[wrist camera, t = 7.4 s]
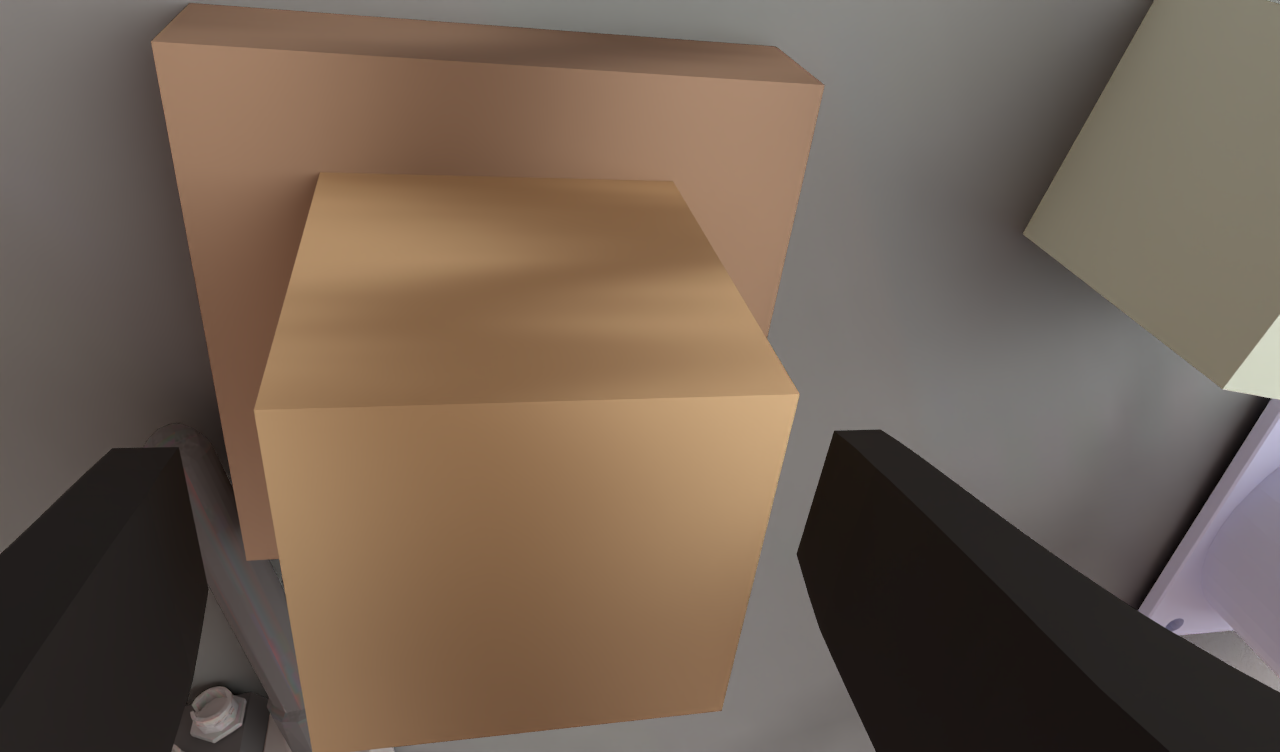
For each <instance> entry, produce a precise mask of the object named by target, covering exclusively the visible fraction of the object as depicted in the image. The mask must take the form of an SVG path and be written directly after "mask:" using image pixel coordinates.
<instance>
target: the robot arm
mask: <svg viewBox="0 0 1280 752" xmlns="http://www.w3.org/2000/svg"><path fill="white" fill-rule="evenodd" d="M797 557H798V560H799V564H800V567H801V570H802V574H803V577H804V581H805V584H806V588H807V591H808V595H809V598H810V601H811V604H812V607H813V610H814V613H815V616H816V619H817V622H818V625H819V628H820V631H821V633H822V635H823V638H824V640H825V642H826V644H827V647H828V649H829V651H830V653H831V656H832V658H833V660H834V662H835V664H836V667H837V669H838V671H839V673H840V675H841V677H842V680H843V682H844V684H845V686H846V688H847V691H848V693H849V695H850V697H851V699H852V701H853V703H854V706H855V708H856V710H857V712H858V714H859V716H860V718H861V721H862V723H863V725H864V727H865V729H866V731H867V733H868V736H869V738H870V740H871V742H872V744H873V746H874V748H875V751H876V752H1280V692H1278V691H1276V690H1274V689H1272V688H1270V687H1268V686H1267V685H1265V684H1263V683H1261V682H1259V681H1257V680H1255V679H1254V678H1252V677H1250V676H1248V675H1246V674H1244V673H1243V672H1241V671H1239V670H1237V669H1235V668H1233V667H1232V666H1230V665H1228V664H1226V663H1225V662H1223V661H1221V660H1220V659H1218V658H1216V657H1214V656H1213V655H1211V654H1209V653H1208V652H1206V651H1204V650H1202V649H1201V648H1199V647H1197V646H1195V645H1194V644H1192V643H1190V642H1189V641H1187V640H1185V639H1183V638H1182V637H1180V636H1178V635H1189V634H1200V633H1210V632H1221V631H1231V630H1234V631H1235V632H1236V633H1237V634H1238V635H1239V636H1240V637H1241V638H1242V639H1243V640H1244V641H1245V642H1246V643H1247V644H1248V645H1249V647H1250V648H1251V649H1252V650H1253V651H1254V652H1255V653H1256V654H1257V655H1258V656H1259V657H1260V658H1261V659H1262V660H1263V661H1264V662H1265V663H1266V665H1267V666H1268V667H1269V668H1270V669H1271V670H1272V671H1273V672H1274V673H1275V674H1276V675H1277V676H1278V677H1279V678H1280V400H1278V399H1273V398H1272V399H1271V400H1270V401H1269V403H1268V404H1267V406H1266V408H1265V409H1264V411H1263V412H1262V414H1261V416H1260V417H1259V419H1258V420H1257V422H1256V423H1255V425H1254V427H1253V428H1252V430H1251V431H1250V433H1249V435H1248V436H1247V438H1246V439H1245V441H1244V443H1243V444H1242V446H1241V447H1240V449H1239V451H1238V452H1237V454H1236V455H1235V457H1234V458H1233V460H1232V462H1231V463H1230V465H1229V466H1228V468H1227V470H1226V471H1225V473H1224V474H1223V476H1222V478H1221V479H1220V481H1219V482H1218V484H1217V485H1216V487H1215V489H1214V490H1213V492H1212V493H1211V495H1210V497H1209V498H1208V500H1207V501H1206V503H1205V505H1204V506H1203V508H1202V509H1201V511H1200V512H1199V514H1198V516H1197V517H1196V519H1195V520H1194V522H1193V524H1192V525H1191V527H1190V528H1189V530H1188V532H1187V533H1186V535H1185V536H1184V538H1183V539H1182V541H1181V543H1180V544H1179V546H1178V547H1177V549H1176V551H1175V552H1174V554H1173V555H1172V557H1171V559H1170V560H1169V562H1168V563H1167V565H1166V566H1165V568H1164V570H1163V571H1162V573H1161V574H1160V576H1159V578H1158V579H1157V581H1156V582H1155V584H1154V586H1153V587H1152V589H1151V590H1150V592H1149V593H1148V595H1147V597H1146V598H1145V600H1144V601H1143V603H1142V605H1141V606H1140V608H1139V609H1138V611H1137V610H1136V609H1134V608H1132V607H1131V606H1129V605H1128V604H1126V603H1125V602H1123V601H1122V600H1120V599H1119V598H1117V597H1116V596H1114V595H1113V594H1111V593H1110V592H1108V591H1107V590H1105V589H1104V588H1102V587H1101V586H1099V585H1098V584H1096V583H1095V582H1093V581H1092V580H1090V579H1089V578H1087V577H1086V576H1084V575H1083V574H1081V573H1080V572H1078V571H1077V570H1075V569H1074V568H1072V567H1071V566H1069V565H1068V564H1066V563H1065V562H1064V561H1062V560H1061V559H1059V558H1058V557H1056V556H1055V555H1054V554H1052V553H1051V552H1049V551H1048V550H1046V549H1045V548H1044V547H1042V546H1041V545H1039V544H1038V543H1037V542H1035V541H1034V540H1032V539H1031V538H1030V537H1028V536H1027V535H1025V534H1024V533H1023V532H1021V531H1020V530H1019V529H1017V528H1016V527H1014V526H1013V525H1012V524H1010V523H1009V522H1008V521H1006V520H1005V519H1003V518H1002V517H1001V516H999V515H998V514H997V513H995V512H994V511H993V510H991V509H990V508H989V507H987V506H986V505H985V504H983V503H982V502H980V501H979V500H978V499H976V498H975V497H974V496H972V495H971V494H970V493H968V492H967V491H966V490H964V489H963V488H962V487H960V486H959V485H958V484H956V483H955V482H954V481H952V480H951V479H950V478H948V477H947V476H946V475H944V474H943V473H942V472H940V471H939V470H938V469H936V468H935V467H934V466H932V465H931V464H929V463H928V462H927V461H925V460H924V459H923V458H921V457H920V456H919V455H917V454H916V453H914V452H913V451H912V450H910V449H909V448H907V447H906V446H904V445H903V444H902V443H900V442H899V441H897V440H896V439H894V438H893V437H891V436H890V435H888V434H886V433H885V432H883V431H882V430H848V431H834V433H833V437H832V440H831V443H830V446H829V450H828V453H827V456H826V460H825V463H824V466H823V469H822V473H821V476H820V479H819V483H818V486H817V489H816V492H815V496H814V499H813V502H812V506H811V509H810V512H809V515H808V519H807V522H806V525H805V529H804V532H803V535H802V538H801V542H800V545H799V548H798V552H797ZM207 595H208V584H207V579H206V575H205V570H204V565H203V560H202V555H201V551H200V546H199V541H198V536H197V531H196V527H195V522H194V517H193V512H192V507H191V503H190V498H189V493H188V488H187V483H186V478H185V474H184V469H183V464H182V459H181V454H180V450H179V447H152V448H112V449H111V450H110V451H109V452H108V453H107V454H106V455H105V456H104V457H102V458H101V459H100V460H99V461H98V462H97V463H96V464H95V465H94V466H93V467H92V468H90V469H89V470H88V471H87V472H86V473H85V474H84V475H83V476H82V477H81V478H80V479H79V480H78V481H77V482H76V483H75V484H74V485H72V486H71V487H70V488H69V489H68V490H67V491H66V492H65V493H64V494H63V495H62V496H61V497H60V498H59V499H58V500H57V501H56V502H55V503H54V504H53V505H52V506H51V507H50V508H49V509H47V510H46V511H45V512H44V513H43V514H42V515H41V516H40V517H39V518H38V519H37V520H36V521H35V522H34V523H33V524H32V525H31V526H30V527H29V528H28V529H27V530H25V531H24V532H23V533H22V534H21V535H20V536H19V537H18V538H17V539H16V540H15V541H14V542H13V543H12V544H11V545H10V546H9V547H8V548H7V549H5V550H4V551H3V552H2V553H1V554H0V752H171V751H172V748H173V744H174V741H175V738H176V735H177V731H178V728H179V725H180V721H181V718H182V715H183V711H184V708H185V705H186V701H187V698H188V695H189V691H190V688H191V684H192V681H193V676H194V671H195V665H196V660H197V654H198V649H199V643H200V638H201V632H202V626H203V619H204V613H205V607H206V601H207Z"/></svg>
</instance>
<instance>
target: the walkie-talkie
mask: <svg viewBox="0 0 1280 752" xmlns="http://www.w3.org/2000/svg"><path fill="white" fill-rule="evenodd" d="M152 447H179V450H180V454H181V459H182V464H183V469H184V474H185V478H186V483H187V488H188V493H189V498H190V503H191V507H192V512H193V517H194V522H195V527H196V531H197V536H198V541H199V546H200V551H201V555H202V560H203V565H204V570H205V575H206V579H207V584H208V585H209V587H210V589H211V591H212V593H213V595H214V597H215V598H216V600H217V602H218V604H219V606H220V608H221V610H222V611H223V613H224V615H225V617H226V619H227V621H228V622H229V624H230V626H231V628H232V630H233V632H234V634H235V635H236V637H237V639H238V641H239V643H240V645H241V647H242V648H243V650H244V652H245V654H246V656H247V658H248V660H249V661H250V663H251V665H252V667H253V669H254V671H255V672H256V674H257V676H258V678H259V680H260V682H261V684H262V685H263V687H264V689H265V691H266V693H267V695H268V697H269V698H268V699H267V698H265V697H262V696H260V695H257V694H255V693H252V692H248V693H244V694H239V695H232V693H231V691H229V690H228V689H227V688H226V687H220V686H218V687H213V688H209V689H207V690H206V691H204V692H202V693H201V694H200V695H199V696H198V697H197V698H196V699H195V700H194V702H193V703H192V705H188V706H185V708H184V711H183V715H182V718H181V721H180V725H179V728H178V731H177V735H176V738H175V741H174V744H173V748H172V751H171V752H312V747H311V741H310V735H309V729H308V723H307V718H306V712H305V706H304V700H303V694H302V688H301V683H300V677H299V671H298V665H297V659H296V653H295V648H294V642H293V636H292V630H291V624H290V618H289V613H288V607H287V601H286V595H285V592H284V590H283V588H282V586H281V584H280V582H279V580H278V578H277V575H276V573H275V571H274V569H273V567H272V565H271V563H270V561H269V559H267V560H251V561H247V560H246V555H245V549H244V544H243V539H242V533H241V528H240V522H239V517H238V511H237V506H236V501H235V495H234V490H233V488H232V486H231V484H230V482H229V480H228V477H227V475H226V473H225V471H224V469H223V467H222V465H221V463H220V461H219V459H218V457H217V455H216V453H215V450H214V448H213V446H212V444H211V443H210V442H209V441H208V440H207V438H206V437H204V436H203V435H202V434H200V433H199V432H198V431H196V430H195V429H194V428H192V427H189V426H186V425H183V424H180V423H177V424H168V425H166V426H164V427H162V428H160V429H158V430H157V431H156V432H155V433H154V434H153V435H152V436H151V437H150V438H149V439H148V440H147V441H146V443H145V445H144V448H152ZM354 752H394V749H393V747H390V748H381V749H372V750H363V751H354Z"/></svg>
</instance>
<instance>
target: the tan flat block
mask: <svg viewBox="0 0 1280 752" xmlns="http://www.w3.org/2000/svg"><path fill="white" fill-rule="evenodd" d="M151 44H152V50H153V55H154V61H155V66H156V72H157V77H158V82H159V88H160V93H161V99H162V104H163V110H164V115H165V120H166V126H167V131H168V137H169V142H170V148H171V153H172V158H173V164H174V169H175V175H176V180H177V186H178V191H179V196H180V202H181V207H182V213H183V218H184V224H185V229H186V234H187V240H188V245H189V251H190V256H191V262H192V267H193V272H194V278H195V283H196V289H197V294H198V300H199V305H200V310H201V316H202V321H203V327H204V332H205V338H206V343H207V348H208V354H209V359H210V365H211V370H212V376H213V381H214V387H215V392H216V397H217V403H218V408H219V414H220V419H221V425H222V430H223V435H224V441H225V446H226V452H227V457H228V463H229V468H230V473H231V479H232V484H233V490H234V495H235V501H236V506H237V511H238V517H239V522H240V528H241V533H242V539H243V544H244V549H245V555H246V560H247V561H251V560H267V559H279V554H278V548H277V543H276V537H275V531H274V525H273V519H272V513H271V508H270V502H269V496H268V490H267V484H266V478H265V473H264V467H263V461H262V455H261V449H260V443H259V438H258V432H257V426H256V420H255V414H254V408H255V404H256V400H257V397H258V393H259V390H260V386H261V382H262V379H263V375H264V372H265V368H266V364H267V361H268V357H269V354H270V350H271V346H272V343H273V339H274V336H275V332H276V328H277V325H278V321H279V318H280V314H281V311H282V307H283V303H284V300H285V296H286V293H287V289H288V285H289V282H290V278H291V275H292V271H293V267H294V264H295V260H296V257H297V253H298V249H299V246H300V242H301V239H302V235H303V232H304V228H305V224H306V221H307V217H308V214H309V210H310V206H311V203H312V199H313V196H314V192H315V188H316V185H317V181H318V178H319V174H320V172H327V173H368V174H408V175H448V176H488V177H528V178H568V179H606V180H644V181H673V182H674V184H675V185H676V187H677V189H678V190H679V192H680V194H681V195H682V197H683V199H684V200H685V202H686V204H687V206H688V207H689V209H690V211H691V212H692V214H693V216H694V217H695V219H696V221H697V222H698V224H699V226H700V227H701V229H702V231H703V232H704V234H705V236H706V237H707V239H708V241H709V243H710V244H711V246H712V248H713V249H714V251H715V253H716V254H717V256H718V258H719V259H720V261H721V263H722V264H723V266H724V268H725V269H726V271H727V273H728V274H729V276H730V278H731V280H732V281H733V283H734V285H735V286H736V288H737V290H738V291H739V293H740V295H741V296H742V298H743V300H744V301H745V303H746V305H747V306H748V308H749V310H750V311H751V313H752V315H753V317H754V318H755V320H756V322H757V323H758V325H759V327H760V328H761V330H762V332H763V333H764V335H765V337H766V338H767V336H768V332H769V327H770V323H771V318H772V314H773V310H774V305H775V301H776V296H777V292H778V288H779V283H780V279H781V274H782V270H783V266H784V261H785V257H786V252H787V248H788V244H789V239H790V235H791V230H792V226H793V222H794V217H795V213H796V208H797V204H798V200H799V195H800V191H801V186H802V182H803V178H804V173H805V169H806V165H807V160H808V156H809V151H810V147H811V143H812V138H813V134H814V129H815V125H816V121H817V116H818V112H819V107H820V103H821V99H822V94H823V90H824V84H822V83H821V82H820V81H819V80H817V79H816V78H815V77H814V76H812V75H811V74H810V73H809V72H807V71H806V70H805V69H804V68H802V67H801V66H800V65H799V64H797V63H796V62H795V61H793V60H792V59H791V58H790V57H788V56H787V55H786V54H785V53H783V52H782V51H781V50H780V49H778V48H777V47H774V46H761V45H748V44H734V43H721V42H707V41H694V40H680V39H667V38H653V37H640V36H627V35H613V34H600V33H586V32H573V31H559V30H546V29H532V28H519V27H506V26H492V25H479V24H465V23H452V22H438V21H425V20H411V19H398V18H385V17H371V16H358V15H344V14H331V13H317V12H304V11H290V10H277V9H264V8H250V7H237V6H223V5H210V4H196V3H189V4H188V5H187V6H186V7H185V8H184V9H183V10H182V11H181V12H180V13H179V14H178V15H177V16H176V17H175V18H174V19H173V20H172V21H171V22H170V23H169V24H168V25H167V26H166V27H165V28H164V29H163V30H162V31H161V32H160V33H159V34H158V35H157V36H156V37H155V38H154V39H153V40H152V41H151Z"/></svg>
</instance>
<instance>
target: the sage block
mask: <svg viewBox="0 0 1280 752" xmlns="http://www.w3.org/2000/svg"><path fill="white" fill-rule="evenodd" d="M1023 235H1024V236H1026V237H1027V238H1028V239H1030V240H1031V241H1032V242H1033V243H1035V244H1036V245H1037V246H1039V247H1040V248H1041V249H1042V250H1044V251H1045V252H1046V253H1048V254H1049V255H1050V256H1052V257H1053V258H1054V259H1055V260H1057V261H1058V262H1059V263H1061V264H1062V265H1063V266H1064V267H1066V268H1067V269H1068V270H1070V271H1071V272H1072V273H1073V274H1075V275H1076V276H1077V277H1079V278H1080V279H1081V280H1082V281H1084V282H1085V283H1086V284H1088V285H1089V286H1090V287H1091V288H1093V289H1094V290H1095V291H1097V292H1098V293H1099V294H1100V295H1102V296H1103V297H1104V298H1106V299H1107V300H1108V301H1110V302H1111V303H1112V304H1113V305H1115V306H1116V307H1117V308H1119V309H1120V310H1121V311H1122V312H1124V313H1125V314H1126V315H1128V316H1129V317H1130V318H1131V319H1133V320H1134V321H1135V322H1137V323H1138V324H1139V325H1140V326H1142V327H1143V328H1144V329H1146V330H1147V331H1148V332H1149V333H1151V334H1152V335H1153V336H1155V337H1156V338H1157V339H1158V340H1160V341H1161V342H1162V343H1164V344H1165V345H1166V346H1168V347H1169V348H1170V349H1171V350H1173V351H1174V352H1175V353H1177V354H1178V355H1179V356H1180V357H1182V358H1183V359H1184V360H1186V361H1187V362H1188V363H1189V364H1191V365H1192V366H1193V367H1195V368H1196V369H1197V370H1198V371H1200V372H1201V373H1202V374H1204V375H1205V376H1206V377H1207V378H1209V379H1210V380H1211V381H1213V382H1214V383H1215V384H1216V385H1218V386H1219V387H1220V388H1222V389H1224V390H1229V391H1235V392H1240V393H1246V394H1251V395H1257V396H1262V397H1267V398H1273V399H1278V400H1280V4H1278V3H1274V2H1270V1H1267V0H1154V2H1153V3H1152V5H1151V7H1150V9H1149V10H1148V12H1147V14H1146V16H1145V17H1144V19H1143V21H1142V23H1141V25H1140V26H1139V28H1138V30H1137V32H1136V33H1135V35H1134V37H1133V39H1132V41H1131V42H1130V44H1129V46H1128V48H1127V49H1126V51H1125V53H1124V55H1123V57H1122V58H1121V60H1120V62H1119V64H1118V65H1117V67H1116V69H1115V71H1114V72H1113V74H1112V76H1111V78H1110V80H1109V81H1108V83H1107V85H1106V87H1105V88H1104V90H1103V92H1102V94H1101V96H1100V97H1099V99H1098V101H1097V103H1096V104H1095V106H1094V108H1093V110H1092V112H1091V113H1090V115H1089V117H1088V119H1087V120H1086V122H1085V124H1084V126H1083V128H1082V129H1081V131H1080V133H1079V135H1078V136H1077V138H1076V140H1075V142H1074V143H1073V145H1072V147H1071V149H1070V151H1069V152H1068V154H1067V156H1066V158H1065V159H1064V161H1063V163H1062V165H1061V167H1060V168H1059V170H1058V172H1057V174H1056V175H1055V177H1054V179H1053V181H1052V183H1051V184H1050V186H1049V188H1048V190H1047V191H1046V193H1045V195H1044V197H1043V198H1042V200H1041V202H1040V204H1039V206H1038V207H1037V209H1036V211H1035V213H1034V214H1033V216H1032V218H1031V220H1030V222H1029V223H1028V225H1027V227H1026V229H1025V230H1024V232H1023Z"/></svg>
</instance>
